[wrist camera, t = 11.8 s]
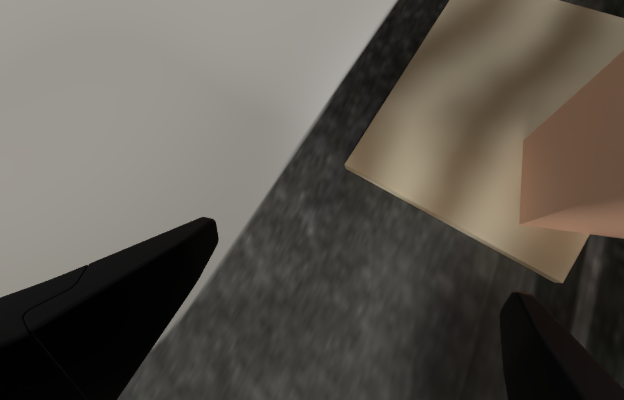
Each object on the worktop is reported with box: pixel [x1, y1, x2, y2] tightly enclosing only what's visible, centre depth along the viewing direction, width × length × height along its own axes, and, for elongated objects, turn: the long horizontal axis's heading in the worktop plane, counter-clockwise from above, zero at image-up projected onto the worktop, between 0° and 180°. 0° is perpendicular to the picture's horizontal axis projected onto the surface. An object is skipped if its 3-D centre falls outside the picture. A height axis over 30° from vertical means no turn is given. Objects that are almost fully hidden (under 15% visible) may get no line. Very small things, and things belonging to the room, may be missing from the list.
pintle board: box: [345, 0, 624, 283], centre depth 20 cm, size 16×19×5 cm
